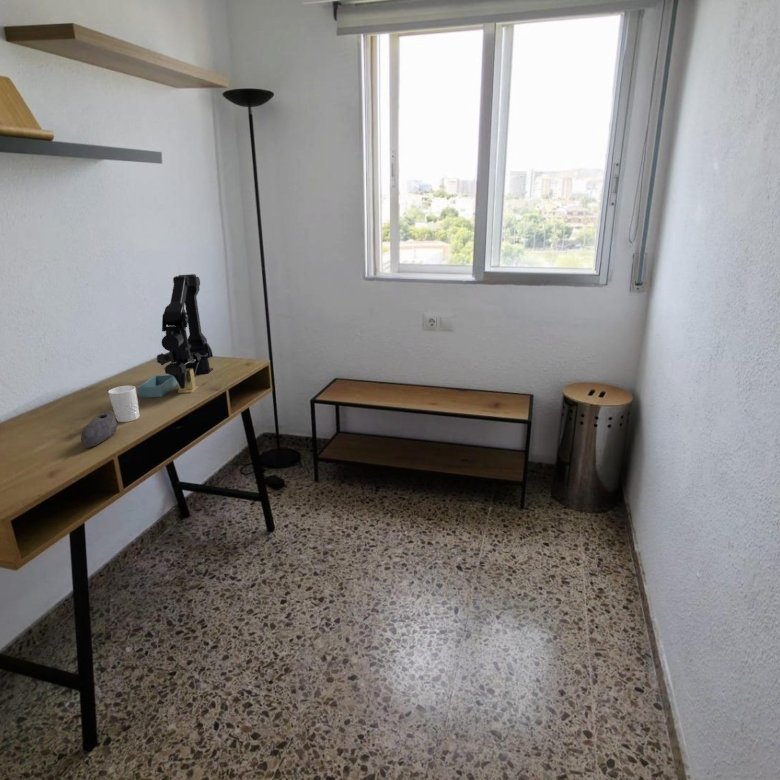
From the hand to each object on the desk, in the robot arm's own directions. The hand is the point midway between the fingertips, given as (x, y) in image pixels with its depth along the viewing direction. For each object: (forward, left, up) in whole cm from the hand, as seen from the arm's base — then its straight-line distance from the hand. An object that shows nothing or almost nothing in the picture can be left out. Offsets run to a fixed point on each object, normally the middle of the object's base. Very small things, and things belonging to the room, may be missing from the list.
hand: (187, 384), depth 195 cm
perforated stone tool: (+44, -8, -2) cm, 45 cm away
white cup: (+27, -9, -2) cm, 29 cm away
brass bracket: (0, 0, -2) cm, 2 cm away
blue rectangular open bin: (0, -11, -2) cm, 11 cm away
